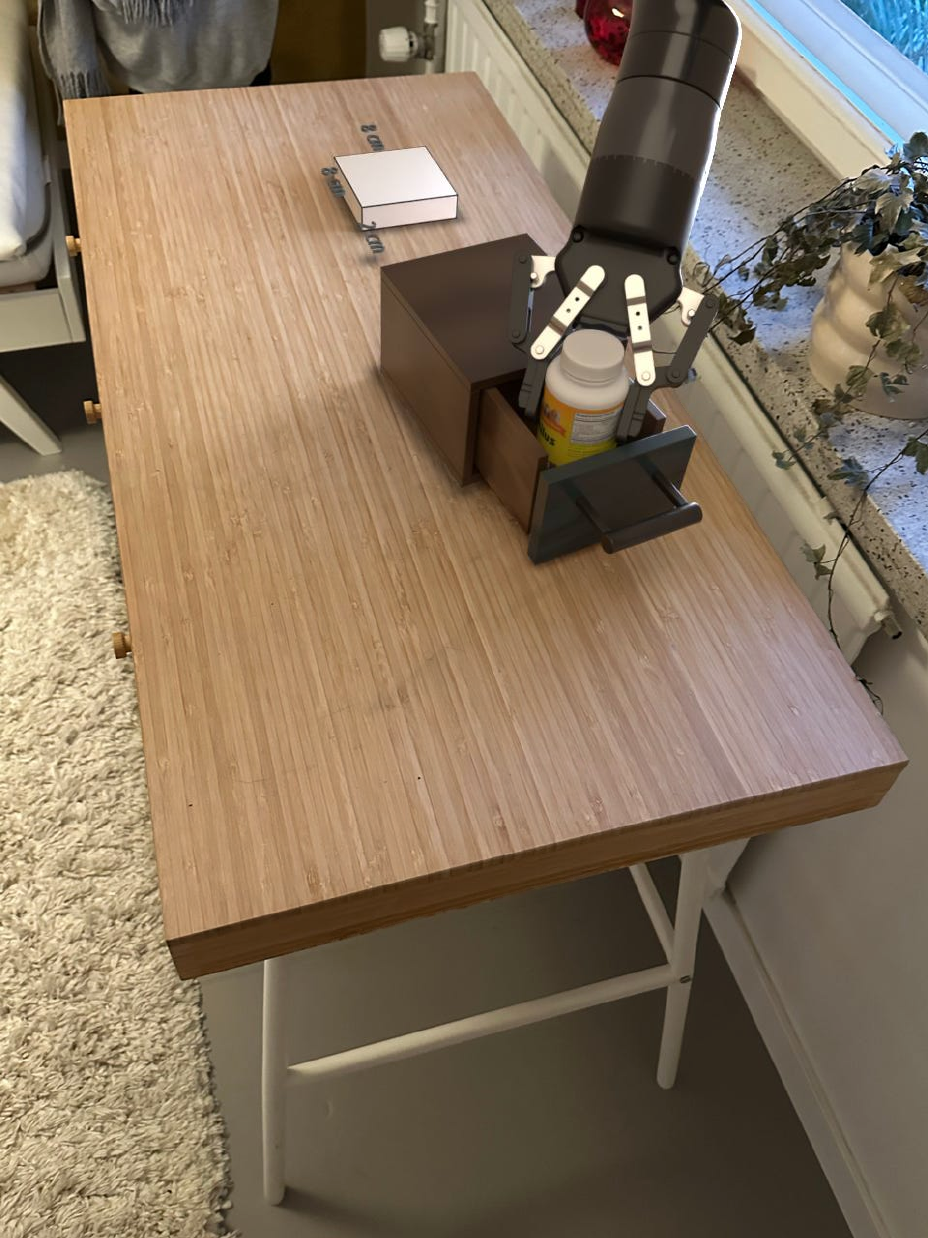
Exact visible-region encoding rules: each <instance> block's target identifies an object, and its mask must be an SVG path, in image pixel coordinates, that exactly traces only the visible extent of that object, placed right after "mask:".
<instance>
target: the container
mask: <svg viewBox="0 0 928 1238" xmlns="http://www.w3.org/2000/svg"><path fill="white" fill-rule="evenodd" d="M360 130H361V132H363V133H369V132H376V131H377V130H378V127H377V125H376V124H369V125H367V124H362V125H361V126H360ZM371 139H373V140H371ZM366 141H367V142H368V144H369V145H370V147H371V148H372V150H373V151H372V152H361V153H353V154H346V155H345V154H344V155H335V156H333V166H332V167H330V168H328V167H323V168H321V174H322V175H323V176H326V177H328V176H331V175H333V177H334V178H329V179H327V186H328V187H329V189H330V190H331V194H333V197H334V198H337V197H343V199H344V201H345V203H346V205H347V207H348V208H349V210H350V212H351V214H352V216H353V218H354V219H355V222H356V223H357V226H358V227H359V229H360V231H361V232H368V231H373V230H381V229H388V228H396V227H403V226H410V225H417V224H425V223H432V222H440V221H446V220H447V221H448V220H454V219H458V208H459V206H458V204H459V193H458V192H457V190H456V189H455V188H454V186H453V184H452V183H451V181H450V180H449V179H448V177H447V175H446V173H444V170H443V169H442V168H441V166H440V165H439V163H438V162H437V160H436V159H435V157H434V156H433V154H432V153H431V151H430V150H429V148H428V147H427V145H423V146H413V147H406V148H405V147H404V148H397V149H388V150H385V144H383V141H382V140H381V139H380V136H379V135H377V134H368V135H367V136H366ZM332 183H335V184H332ZM379 236H380V235H378V234H376V233H369V234H366V235H365V241H366V242H367V244H368V246H370V250H372V254H373V255H374V254H382V253H385V251H386V247H385V245H383V244H384V243H383V242H382V240H381V239H380V237H379ZM371 238H375V239H376V240H370V239H371Z"/></svg>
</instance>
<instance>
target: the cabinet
mask: <svg viewBox="0 0 928 1238" xmlns="http://www.w3.org/2000/svg"><path fill="white" fill-rule="evenodd" d="M519 250H527V251H529V252H530V253H531V255H534V256H550V255H549V254H548V252H546V251H545V249H543V248H542V246H540V244H539V243H538V242H537V241H536V240H535V239H534V238H533V237H532V236H531V235H530V234H529V233H528V232H525V233H521V234H517V235H513V236H508V237H503V238H499V239H496V240H491V241H486V242H482V243H477V244H474V245H473V244H472V245H469V246H463V247H460V248H456V249H452V250H447V251H442V252H438V253H434V254H430V255H425V256H420V257H417V258H412V259H408V260H404V261H400V262H395V263H391V264H386V265H382V266H380V268H379V275H380V277H379V278H380V280H379V281H380V283H379V284H380V292H379V293H380V311H379V312H380V324H379V325H380V363H379V364H380V365H379V371H380V373H381V375H382V376H383V378H384V379H385V380H386V382H387V383H388V384H389V386H390V387H391V389H392V390H393V392H394V393H395V395H396V396H397V397H398V399H399V400H400V402H401V403H402V404H403V406H404V407H405V409H406V410H407V412H408V413H409V415H411V417H412V418H413V420H414V421H415V423H416V424H417V426H418V427H419V428H420V430H421V431H422V433H423V435H424V436H425V437H426V439H427V440H428V441H429V442H430V444H431V446H432V447H433V448H434V451H436V452H437V454H438V455H439V457H440V459H442V461H443V462H444V464H445V466H446V467H447V468H448V469H449V471H450V473H452V475H453V476H454V478H455V479H456V481H457V483H459V485H460V487H461V488H465V487H467V486H470V485H473V484H476V483H480V482H483V481H486V479H485V478H484V477H483V475H482V474H481V473H480V471H479V470H478V468H477V467H476V466H475V464H474V463H473V458H474V448H475V437H476V427H477V416H478V406H479V395H480V390H481V389H484V388H488V387H491V386H495V385H499V384H502V383H506V382H509V381H513V380H516V379H520V378H523V377H524V376H525V372H526V369H527V365H528V356H527V355H526V354H524V353H523V352H521V351H520V350H519V349H516V348H515V347H514V346H513V345H512V343H511V342H510V340H509V339H508V337H507V329H508V318H509V306H510V295H511V284H512V272H513V261H514V256H515V254H516V253H517V252H518V251H519ZM564 301H565V298H564V295H563V292H562V289H561V287H560V284H559V281H558V278H557V276H556V274H552V275H550V276H549V277H548V278H547V279H546V281H545V285H544V287H543V288H542V289H540V290H538V291H534V294H533V305H532V316H531V327H530V333H531V334H533V335H534V336H536V337H537V338H538V337H539V336H540V334H541V333H542V332H543V330H544V329H545V328H546V326H547V325H548V324H549V322H550V320H551V318H552V316H553V315H554V314H555V312H556V311H557V310H558V308H559V307H560V306H561V305H562V303H563V302H564ZM584 329H585V328H581V325H580V326H579V327H578V329H577V330H576V331H579V330H584ZM576 331H575V332H576ZM600 331H604V332H607V333H609V332H608V331H606V330H600ZM609 334H611V333H609ZM611 335H613V334H611ZM613 336H614V337H616V338H617V339H618V340H619V341H620V342H621V343H622V345H623V347H624V352H625V353H624V357H625V356H626V351H627V348H628V343H629V337H627V339H626V338H622V337H618V336H615V335H613ZM562 347H563V346H562ZM562 347H561V348H560V350H559V351H558V352H557V354H556V355H555V356H554V357H553V359H552V360H551V361H550V363H551V362H552V361H553V360H554V359H555V358H556V357H557V356H559V355H560V354H561V352H562ZM623 361H625V358H624V359H623ZM550 363H549V365H550Z"/></svg>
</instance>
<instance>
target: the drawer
mask: <svg viewBox="0 0 928 1238" xmlns="http://www.w3.org/2000/svg"><path fill="white" fill-rule="evenodd" d="M523 380H524V377H523V378H520V379H516V380H513V381H509V382H506V383H502V384H499V385H495V386H491V387H488V388H484V389H481V390H480V395H479V406H478V416H477V427H476V437H475V448H474V458H473V463H474V464H475V466H476V467H477V468H478V470H479V471H480V473H481V474H482V475H483V477H484V478H485V479H486V480H485V481H486V483H487V484H488V485H489V486H490V488H491V489H492V491H493V492H494V493H495V495H496V496H497V497H498V498H499V500H500V501H501V503H502V504H503V506H504V507H505V508H506V509H507V511H508V512H509V514H510V515H511V516H512V518H513V519H514V521H515V522H516V523H517V525H518V526H519V527H520V529H521V530H522V532H523V533H524V534H525V536H528V535H529V537H528V544H527V548H526V549H527V550H526V555H527V557H528V559H529V560H530V561H531V562H532V564H533V565H534V566H539V565H541V564H543V563H544V564H545V563H546V562H550V561H552V560H555V559H558V558H561V557H564V556H566V555H569V554H573V553H574V552H577V551H580V550H583V549H586V548H589V547H592V546H594V545H598V544H600V545H601V548H602V550H603V552H605V554H607V555H610V556H611V555H613V554H617V553H619V552H622V551H624V550H627V549H630V548H633V547H635V546H638V545H641V544H644V543H646V542H649V541H652V540H655V539H657V538H661V537H663V536H666V535H669V534H671V533H674V532H677V531H680V530H682V529H685V528H688V527H691V526H694V525H696V524H699V523H701V522H702V520H703V516H704V515H703V510H702V507H701V506H700V505H699V503H697V502H695V501H691V502H688V501H687V499H686V498H685V497H684V496H683V495H682V494H681V493H680V491H681V487H682V486H683V481H684V478H685V475H686V472H687V469H688V466H689V462H690V459H691V456H692V453H693V451H694V447H695V444H696V440H697V437H698V435H697V434H696V432H695V431H694V430H693V429H692V428H691V427H690V425H688V424H685V425H681V426H679V427H675V428H673V429H669V430H666V431H664V429H665V428H664V427H665V424H666V421H667V415H665V414H664V413H663V412H662V411H661V410H660V408H658V407H657V405H656V404H655V403H654V402H653V401H652V399H649V402H648V406H647V409H646V413H645V416H644V420H643V423H642V427H641V430H640V433H639V434H638V435H637V437H636V438H635V439H634V438H630V437H628V438H627V441H626V445H621V444H617V445H616V448H613V449H610V450H607V451H604V452H601V453H598V454H595V455H592V456H589V457H585V458H582V459H579V460H576V461H573V462H570V463H567V464H564V465H560V466H557V467H554V468H551V469H548V470H546V469H547V464H548V458H549V454H548V453H547V451H546V450H545V449H544V448H543V446H542V445H541V444H540V443H539V441H538V440H537V439H536V436H537V430H538V423H539V417H540V413H539V416H538V419H537V422H534V421H530V420H526V419H525V418H524V413H525V410H523V409H521V408H520V407H519V400H518V398H519V394H520V391H521V387H522V384H523ZM630 385H634V380H633V379H632V378H631V377H630ZM540 410H541V409H540ZM663 431H664V432H663Z"/></svg>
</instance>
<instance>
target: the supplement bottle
mask: <svg viewBox="0 0 928 1238" xmlns="http://www.w3.org/2000/svg"><path fill="white" fill-rule="evenodd" d="M624 353H625V354H626V352H624V347H623V345H622V343H621V342H620V341H619V340H618V339H617V338H616V337H614V336H613V335H611V334H609V333H607V332H604V331H600V330H594V329H584V330H579V331H576V332H573V333H571V334H570V335H568V336H567V337H566V339H565V340H564V343H563V347H562V352H561V354H560V355H559V356H557V357H556V358H555V359H554V360H553V361H552V362H551V363H550V365H549V366H548V369H547V372H546V377H545V383H544V389H543V396H542V403H541V410H540V417H539V423H538V430H537V436H536V439H537V440H538V441H539V443H540V444H541V445H542V446H543V448H544V449H545V450H546V451H547V453H548V454H549V458H548V464H547V469H546V470H548V469H551V468H554V467H557V466H560V465H564V464H567V463H570V462H573V461H576V460H579V459H582V458H585V457H589V456H592V455H595V454H598V453H601V452H604V451H607V450H610V449H613V448H616V445H617V443H615V437H616V434H617V430H618V427H619V423H620V419H621V416H622V412H623V409H624V405H625V402H626V398H627V395H628V391H629V388H630V378H631V377H630V373H629V372H628V369H627V368H626V367H625V366H624V360H625V356H624ZM623 359H624V360H623Z"/></svg>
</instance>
